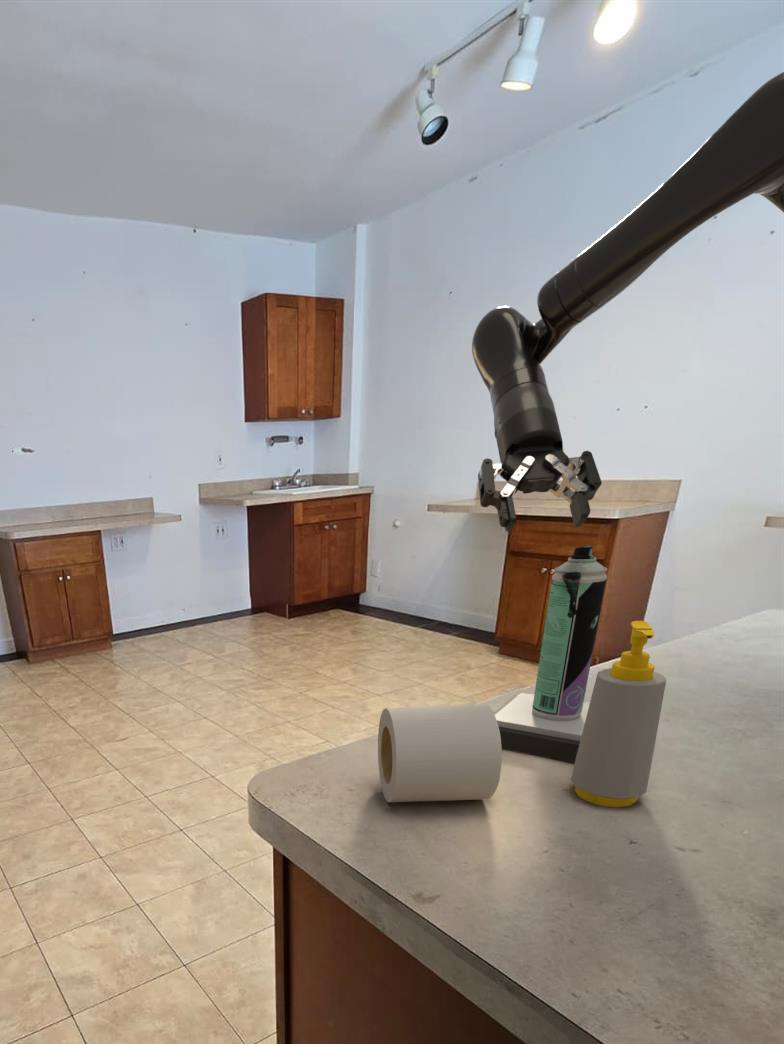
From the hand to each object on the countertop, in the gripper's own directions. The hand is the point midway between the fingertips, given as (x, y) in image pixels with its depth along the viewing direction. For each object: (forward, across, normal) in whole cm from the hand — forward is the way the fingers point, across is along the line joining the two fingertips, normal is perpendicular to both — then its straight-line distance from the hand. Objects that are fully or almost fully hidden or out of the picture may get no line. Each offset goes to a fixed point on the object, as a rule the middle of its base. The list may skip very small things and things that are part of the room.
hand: (546, 524), depth 81 cm
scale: (+26, +1, +9) cm, 28 cm away
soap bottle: (+37, -1, -2) cm, 37 cm away
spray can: (+24, 0, +7) cm, 25 cm away
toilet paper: (+37, -18, -2) cm, 41 cm away
